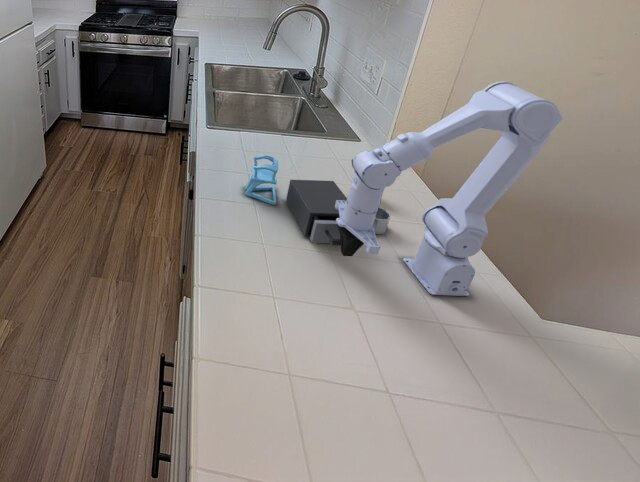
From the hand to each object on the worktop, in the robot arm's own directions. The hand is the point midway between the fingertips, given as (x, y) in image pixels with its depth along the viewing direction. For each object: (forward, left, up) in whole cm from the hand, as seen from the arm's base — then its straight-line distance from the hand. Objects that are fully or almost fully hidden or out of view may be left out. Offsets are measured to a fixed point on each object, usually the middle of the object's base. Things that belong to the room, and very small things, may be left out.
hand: (346, 254), depth 86 cm
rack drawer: (+10, 0, -2) cm, 10 cm away
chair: (+25, +12, -3) cm, 28 cm away
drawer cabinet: (+15, 0, -3) cm, 15 cm away
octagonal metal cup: (+13, -13, -3) cm, 19 cm away
